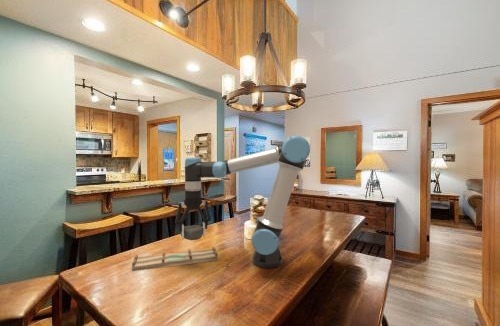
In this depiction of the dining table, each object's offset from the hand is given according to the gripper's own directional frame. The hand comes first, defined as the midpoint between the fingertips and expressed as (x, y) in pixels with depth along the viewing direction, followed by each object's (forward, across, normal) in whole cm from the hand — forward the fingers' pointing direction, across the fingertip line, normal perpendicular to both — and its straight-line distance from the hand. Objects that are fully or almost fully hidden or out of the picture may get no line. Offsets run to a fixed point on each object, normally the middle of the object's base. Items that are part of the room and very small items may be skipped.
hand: (193, 237), depth 112 cm
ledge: (+15, +7, -12) cm, 20 cm away
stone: (+1, +1, -3) cm, 3 cm away
